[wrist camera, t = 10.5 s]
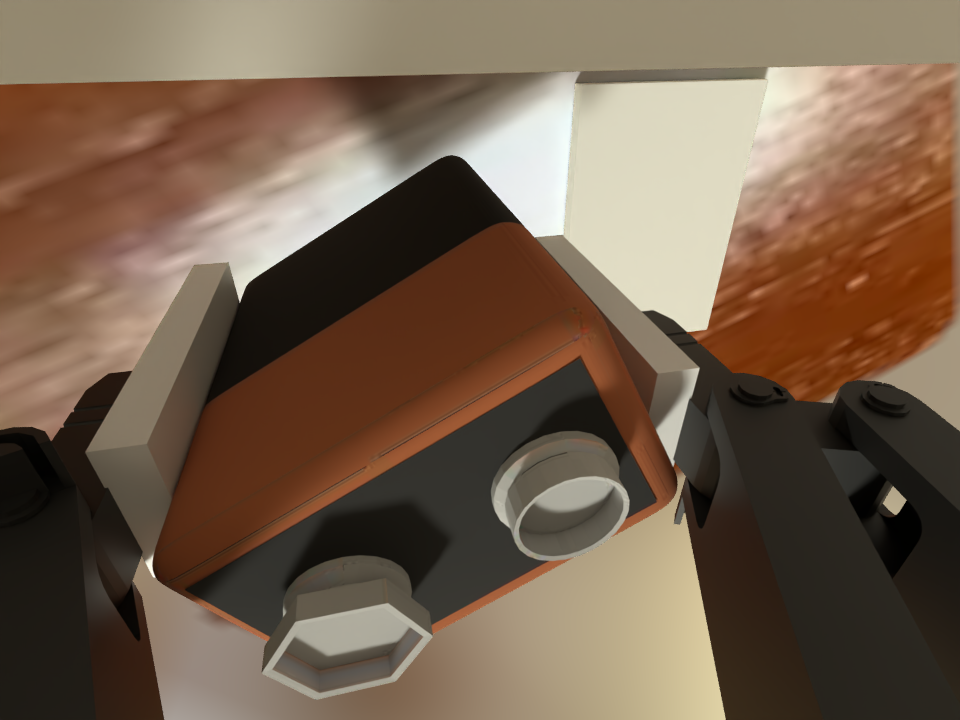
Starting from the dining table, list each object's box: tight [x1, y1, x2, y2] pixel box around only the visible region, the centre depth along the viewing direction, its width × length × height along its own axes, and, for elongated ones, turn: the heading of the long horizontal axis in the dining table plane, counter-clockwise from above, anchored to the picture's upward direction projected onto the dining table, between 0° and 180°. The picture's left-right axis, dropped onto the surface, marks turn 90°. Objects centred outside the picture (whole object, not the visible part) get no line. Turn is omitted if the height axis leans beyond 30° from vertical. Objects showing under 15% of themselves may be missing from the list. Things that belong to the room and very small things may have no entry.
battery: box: [152, 155, 677, 700], centre depth 11 cm, size 4×7×10 cm, turn 119°
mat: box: [563, 78, 768, 332], centre depth 21 cm, size 10×7×1 cm
